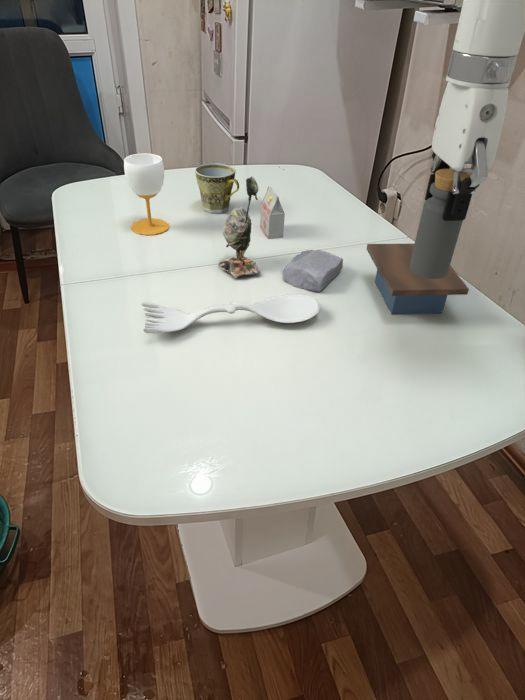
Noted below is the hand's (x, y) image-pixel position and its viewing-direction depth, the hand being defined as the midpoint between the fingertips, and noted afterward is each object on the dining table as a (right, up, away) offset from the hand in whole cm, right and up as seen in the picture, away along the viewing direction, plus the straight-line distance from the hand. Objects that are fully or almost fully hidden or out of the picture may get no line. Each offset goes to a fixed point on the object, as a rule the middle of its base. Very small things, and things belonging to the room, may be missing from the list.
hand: (444, 209), depth 73 cm
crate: (+3, -10, +28) cm, 30 cm away
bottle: (0, -8, +6) cm, 10 cm away
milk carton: (-24, +8, +50) cm, 56 cm away
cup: (-53, +9, +49) cm, 73 cm away
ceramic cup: (-37, +16, +59) cm, 71 cm away
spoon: (-31, -15, +20) cm, 40 cm away
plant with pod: (-31, -3, +36) cm, 47 cm away
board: (+3, -5, +25) cm, 25 cm away
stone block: (-16, -5, +34) cm, 38 cm away
